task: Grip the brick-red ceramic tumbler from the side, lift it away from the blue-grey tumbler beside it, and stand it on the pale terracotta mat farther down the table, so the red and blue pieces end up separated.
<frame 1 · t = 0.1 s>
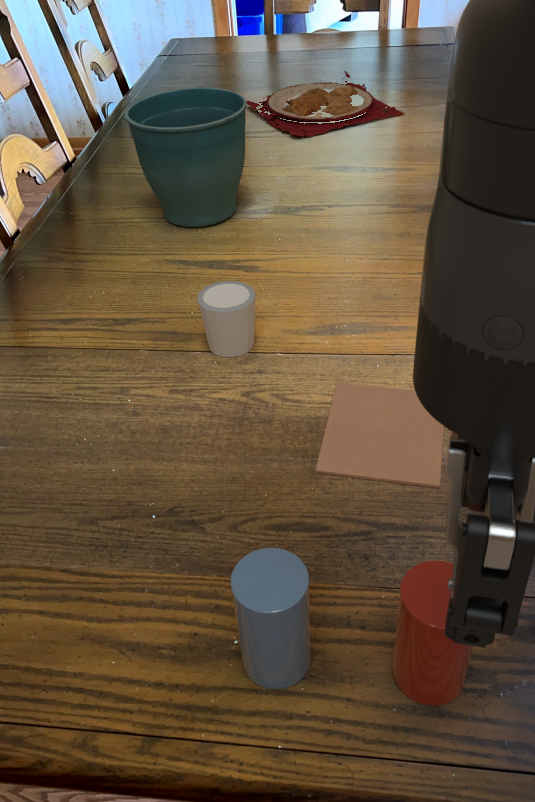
hand: (469, 563, 37), 20 cm above the table, tool pointing down, fingers open, 8 cm apart
flower pot: (199, 213, 117), on the table
shot glass: (231, 345, 88), on the table
plate with food: (322, 112, 152), on the table
terracotta mat: (383, 432, 74), on the table
red tumbler: (428, 671, 54), on the table
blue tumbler: (276, 656, 56), on the table
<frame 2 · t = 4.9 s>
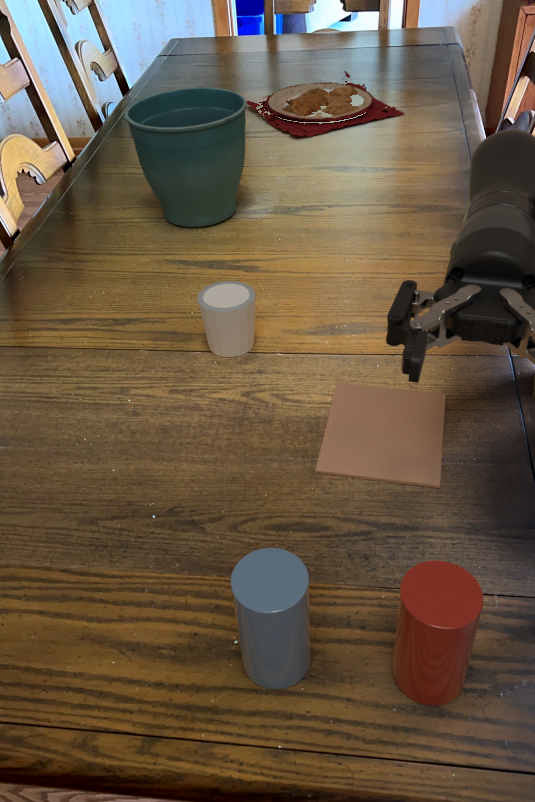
hand: (475, 381, 49), 19 cm above the table, tool horizontal, fingers open, 8 cm apart
nothing on the table moved.
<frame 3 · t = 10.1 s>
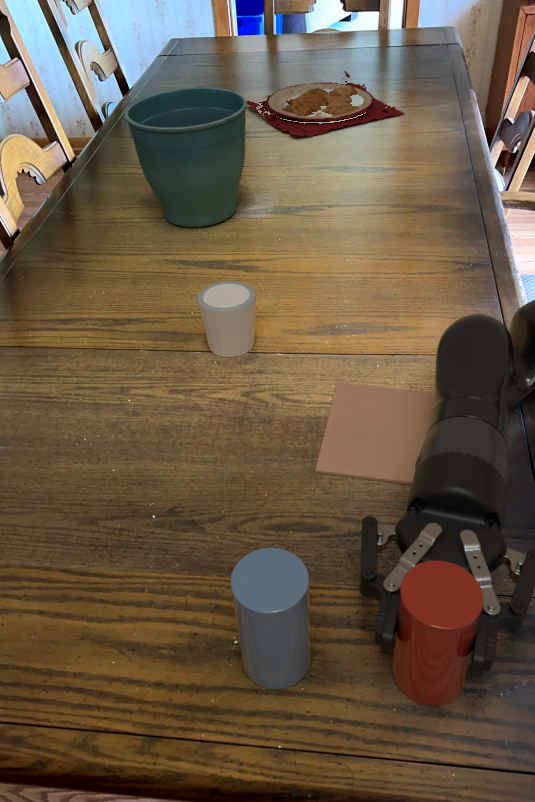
hand: (430, 658, 48), 6 cm above the table, tool horizontal, fingers closed on red tumbler, 5 cm apart
red tumbler: (428, 671, 54), on the table, touching gripper
everything else where it was.
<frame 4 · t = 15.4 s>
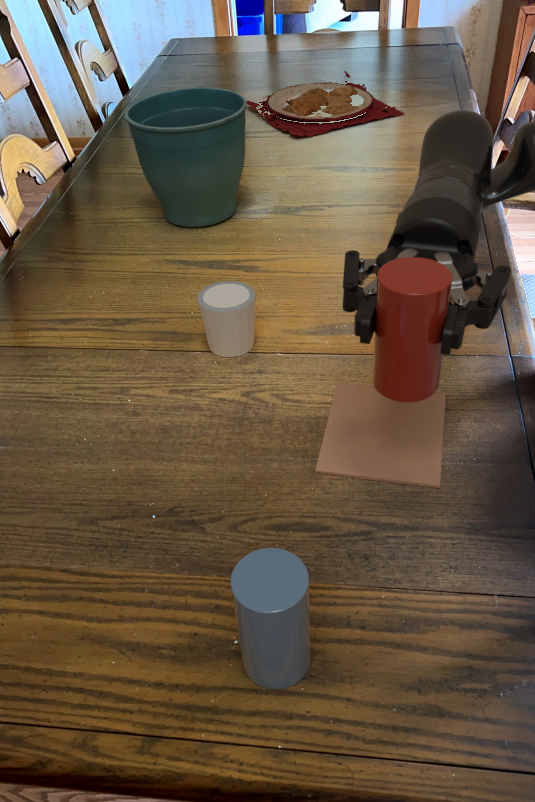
hand: (404, 338, 53), 20 cm above the table, tool horizontal, fingers closed on red tumbler, 5 cm apart
red tumbler: (405, 381, 59), point 14 cm above the table, touching gripper
everything else where it was.
when the fingers open (6 cm above the table, at t = 20.8 s): red tumbler stays where it is, resting on terracotta mat.
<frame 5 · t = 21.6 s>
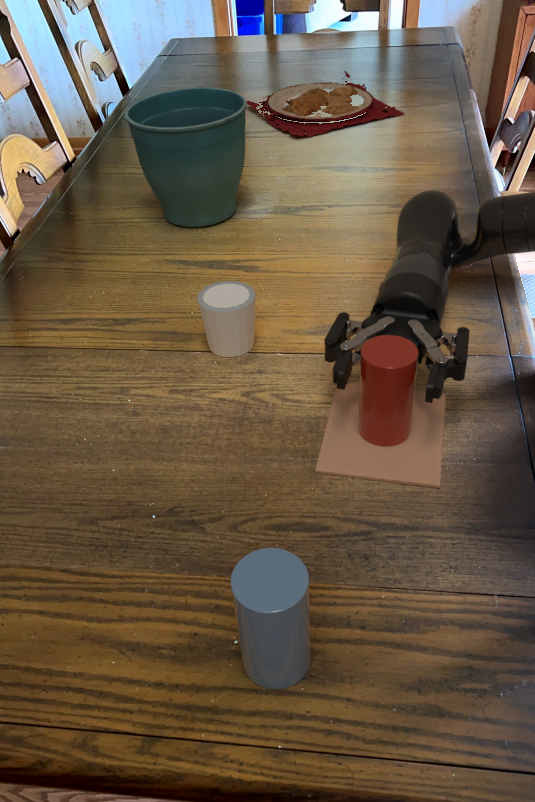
hand: (383, 389, 68), 7 cm above the table, tool horizontal, fingers open, 8 cm apart
red tumbler: (384, 428, 74), resting on terracotta mat
everything else where it was.
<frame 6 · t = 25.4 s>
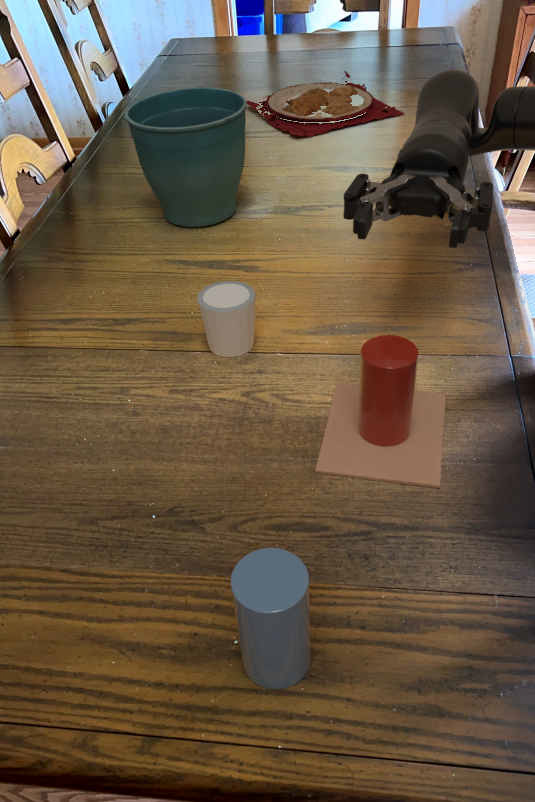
hand: (406, 234, 66), 19 cm above the table, tool horizontal, fingers open, 8 cm apart
nothing on the table moved.
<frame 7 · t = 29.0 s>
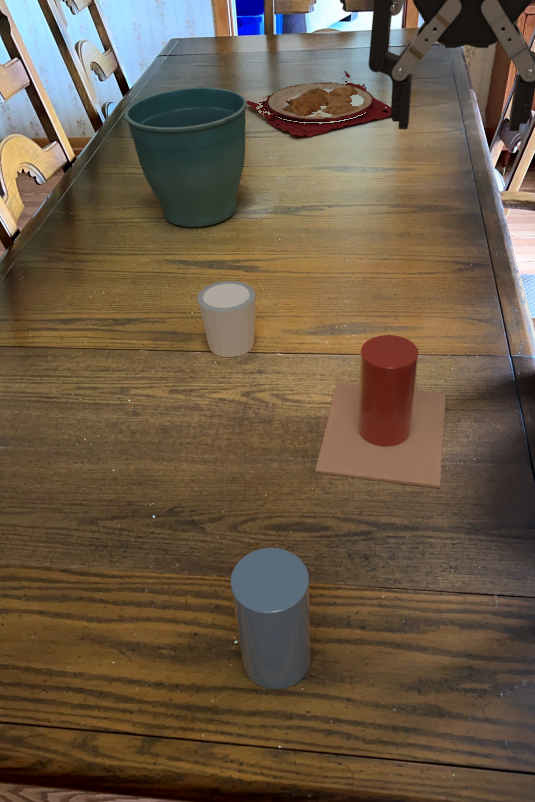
hand: (457, 127, 57), 30 cm above the table, tool pointing down, fingers open, 8 cm apart
nothing on the table moved.
at the end: red tumbler inside the target area on the terracotta mat (0.1 cm from its centre), point 0.4 cm above the terracotta mat's base; red tumbler tilted 0°; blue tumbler moved 0.0 cm from its start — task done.
